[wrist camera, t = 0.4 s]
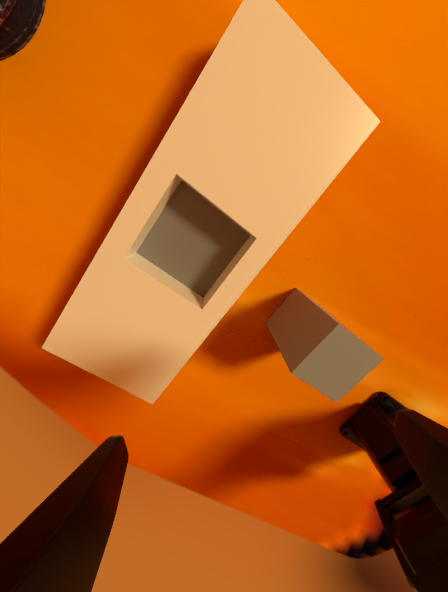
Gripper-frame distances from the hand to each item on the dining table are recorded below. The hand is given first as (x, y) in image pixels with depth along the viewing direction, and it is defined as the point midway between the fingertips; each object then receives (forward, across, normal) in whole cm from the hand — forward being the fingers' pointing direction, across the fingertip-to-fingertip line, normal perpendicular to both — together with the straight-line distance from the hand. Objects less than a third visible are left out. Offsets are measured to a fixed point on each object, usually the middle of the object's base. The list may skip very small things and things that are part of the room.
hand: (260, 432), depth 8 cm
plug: (+13, -6, +2) cm, 14 cm away
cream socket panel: (+12, +3, -5) cm, 14 cm away
